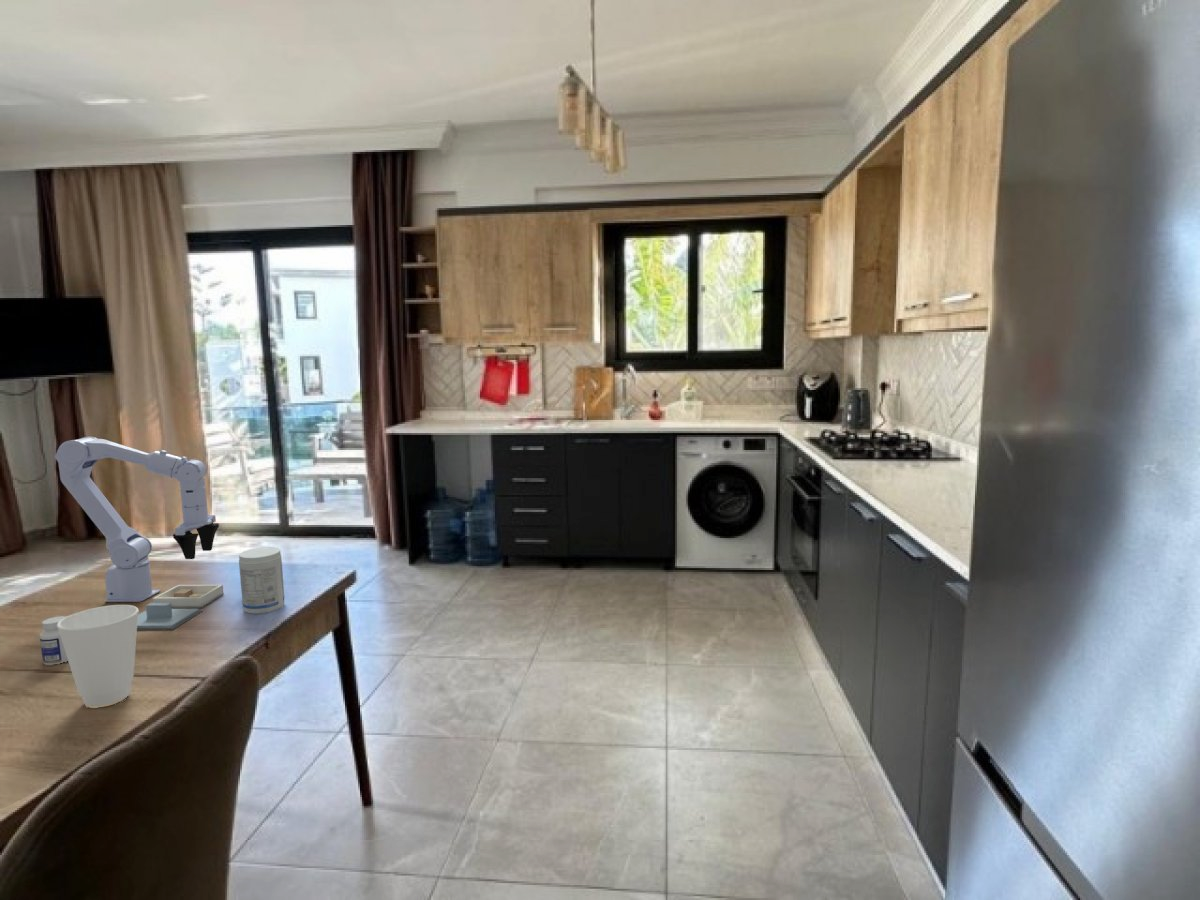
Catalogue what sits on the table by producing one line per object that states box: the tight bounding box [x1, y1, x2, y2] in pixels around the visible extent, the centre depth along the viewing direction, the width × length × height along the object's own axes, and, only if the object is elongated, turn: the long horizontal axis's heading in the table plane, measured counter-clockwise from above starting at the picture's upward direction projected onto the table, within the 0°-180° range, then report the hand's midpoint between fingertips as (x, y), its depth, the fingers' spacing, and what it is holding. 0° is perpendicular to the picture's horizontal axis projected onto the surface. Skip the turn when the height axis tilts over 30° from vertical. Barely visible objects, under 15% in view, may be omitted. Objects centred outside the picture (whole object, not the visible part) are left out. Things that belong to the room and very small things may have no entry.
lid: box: [137, 602, 200, 628], centre depth 156 cm, size 12×10×4 cm
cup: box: [57, 604, 140, 706], centre depth 119 cm, size 12×12×16 cm
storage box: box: [152, 584, 224, 609], centre depth 169 cm, size 12×10×3 cm
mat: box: [137, 609, 204, 631], centre depth 156 cm, size 14×12×1 cm
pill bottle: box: [39, 615, 68, 666], centre depth 135 cm, size 5×5×9 cm
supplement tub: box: [238, 546, 286, 615], centre depth 163 cm, size 10×10×15 cm
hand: (198, 554), depth 175 cm, fingers open, 7 cm apart
